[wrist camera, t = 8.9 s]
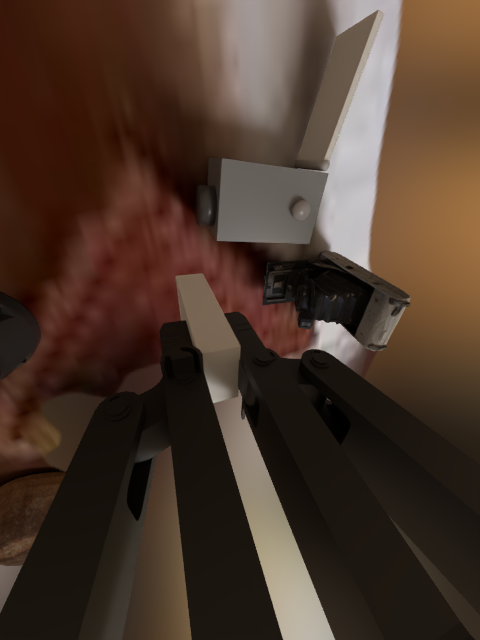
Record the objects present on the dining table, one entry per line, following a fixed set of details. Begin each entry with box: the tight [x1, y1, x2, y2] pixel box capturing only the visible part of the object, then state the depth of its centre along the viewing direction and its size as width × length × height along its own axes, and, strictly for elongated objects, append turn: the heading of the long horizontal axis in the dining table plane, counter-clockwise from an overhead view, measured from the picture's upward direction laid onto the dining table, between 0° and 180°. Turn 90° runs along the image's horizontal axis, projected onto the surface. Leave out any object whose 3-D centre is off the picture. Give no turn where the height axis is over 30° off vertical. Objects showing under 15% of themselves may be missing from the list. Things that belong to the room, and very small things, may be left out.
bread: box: [0, 472, 66, 566], centre depth 59 cm, size 26×27×13 cm
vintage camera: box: [262, 251, 411, 351], centre depth 40 cm, size 10×16×20 cm, turn 86°
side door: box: [295, 10, 384, 171], centre depth 30 cm, size 14×2×7 cm, turn 164°
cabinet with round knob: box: [196, 157, 328, 244], centre depth 33 cm, size 16×9×9 cm, turn 82°
